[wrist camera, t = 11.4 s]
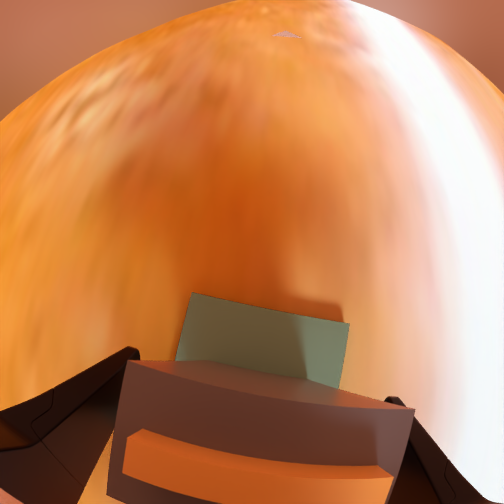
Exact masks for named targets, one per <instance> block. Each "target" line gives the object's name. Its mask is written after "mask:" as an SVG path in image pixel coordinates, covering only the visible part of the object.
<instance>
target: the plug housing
mask: <svg viewBox="0 0 504 504" xmlns="http://www.w3.org/2000/svg"><path fill="white" fill-rule="evenodd" d="M414 413H415V409H413V408H408V407H404V406H399V405H395V404H391V403H387V402H383V401H379V400H376V399H372V398H368V397H364V396H361V395H357V394H354V393H350V392H347V391H343V390H340V389H337V388H334V387H330V386H327V385H324V384H321V383H318V382H315V381H312V380H309V379H303V378H296V377H290V376H284V375H278V374H272V373H266V372H261V371H256V370H251V369H246V368H241V367H236V366H232V365H227V364H223V363H219V362H214V361H210V360H193V361H139V360H127V365H126V369H125V374H124V379H123V383H122V388H121V393H120V399H119V404H118V410H117V415H116V421H115V428H114V434H113V441H112V448H111V455H110V464H109V472H108V482H107V493H106V495H108V496H110V497H112V498H114V499H117V500H119V501H121V502H124V503H126V504H387V503H388V501H389V498H390V495H391V493H392V490H393V487H394V484H395V482H396V479H397V476H398V473H399V470H400V466H401V463H402V460H403V456H404V453H405V450H406V446H407V442H408V438H409V435H410V431H411V426H412V422H413V418H414Z"/></svg>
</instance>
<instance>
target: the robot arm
mask: <svg viewBox="0 0 504 504" xmlns="http://www.w3.org/2000/svg"><path fill="white" fill-rule="evenodd" d="M127 360H139V361H141V360H140V353H139V350H138V349H136V348H133V347H130V346H128V347H125V348H123V349H122V350H120V351H118V352H116V353H115V354H113V355H111V356H109V357H108V358H106V359H104V360H102V361H101V362H99V363H97V364H95V365H93V366H92V367H90V368H88V369H86V370H85V371H83V372H81V373H79V374H77V375H76V376H74V377H72V378H70V379H68V380H67V381H65V382H63V383H61V384H59V385H57V386H56V387H54V388H52V389H50V390H48V391H46V392H44V393H42V394H41V395H39V396H37V397H35V398H32V399H30V400H28V401H25V402H23V403H20V404H18V405H15V406H13V407H10V408H7V409H5V410H2V411H0V504H77V503H78V501H79V499H80V497H81V495H82V493H83V490H84V487H85V486H86V484H87V482H88V480H89V478H90V476H91V474H92V472H93V470H94V468H95V466H96V464H97V462H98V460H99V458H100V456H101V454H102V452H103V450H104V448H105V446H106V444H107V442H108V440H109V438H110V436H111V434H112V432H113V430H114V428H115V421H116V415H117V410H118V404H119V399H120V393H121V388H122V383H123V379H124V374H125V369H126V365H127ZM384 402H387V403H391V404H395V405H399V406H404V407H406V406H405V405H404V403H403V402H402V401H401V400H400V398H398V397H394V396H389V397H387V398H386V399H385V401H384ZM387 504H502V503H496V502H492V501H489V500H487V499H486V498H484V497H483V496H482V495H481V494H480V493H479V492H478V491H477V490H476V489H475V488H474V487H473V486H472V485H471V484H470V483H469V482H468V481H467V480H466V479H465V478H464V477H463V476H462V475H461V474H460V472H459V471H458V470H457V469H456V468H455V466H454V465H453V464H452V463H451V461H450V460H449V459H448V458H447V456H446V455H445V454H444V453H443V451H442V450H441V449H440V448H439V446H438V445H437V444H436V443H435V441H434V440H433V439H432V438H431V436H430V435H429V434H428V433H427V432H426V430H425V429H424V428H423V427H422V425H421V424H420V423H419V422H418V420H417V419H416V418H415V417H414V418H413V422H412V426H411V431H410V435H409V438H408V442H407V446H406V450H405V453H404V456H403V460H402V463H401V466H400V470H399V473H398V476H397V479H396V482H395V484H394V487H393V490H392V493H391V495H390V498H389V501H388V503H387Z"/></svg>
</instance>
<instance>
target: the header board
mask: <svg viewBox="0 0 504 504" xmlns="http://www.w3.org/2000/svg"><path fill="white" fill-rule="evenodd" d="M348 331H349V324H348V323H342V322H336V321H330V320H325V319H319V318H313V317H308V316H302V315H297V314H292V313H287V312H281V311H276V310H271V309H266V308H261V307H256V306H252V305H247V304H242V303H238V302H233V301H228V300H224V299H219V298H215V297H211V296H206V295H202V294H198V293H193V292H192V293H191V297H190V301H189V305H188V309H187V313H186V317H185V320H184V324H183V328H182V332H181V337H180V341H179V345H178V349H177V353H176V357H175V361H193V360H210V361H214V362H219V363H223V364H227V365H232V366H236V367H241V368H246V369H251V370H256V371H261V372H266V373H272V374H278V375H284V376H290V377H296V378H303V379H309V380H312V381H315V382H318V383H321V384H324V385H327V386H330V387H334V388H337V389H338V388H339V383H340V378H341V373H342V367H343V362H344V356H345V350H346V344H347V338H348Z"/></svg>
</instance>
